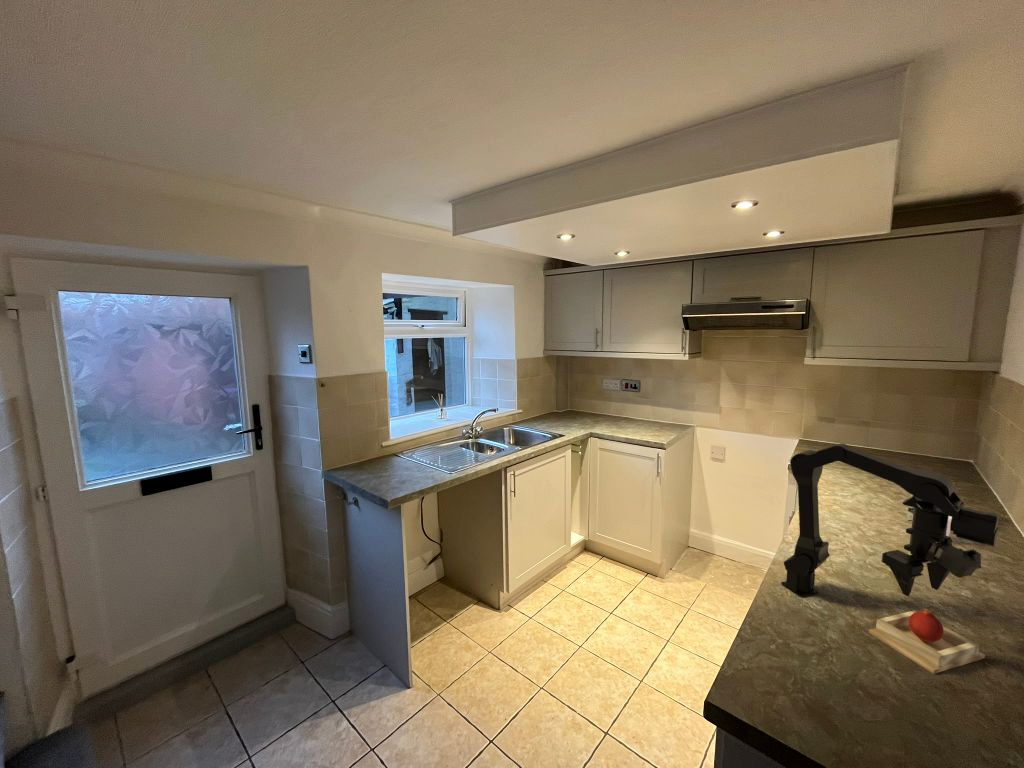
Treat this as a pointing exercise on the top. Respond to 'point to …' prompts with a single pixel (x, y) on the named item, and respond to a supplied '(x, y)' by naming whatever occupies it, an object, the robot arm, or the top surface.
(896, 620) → the tray
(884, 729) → the top surface
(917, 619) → the onion
